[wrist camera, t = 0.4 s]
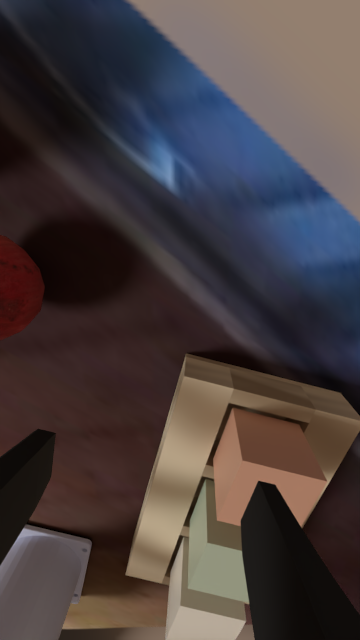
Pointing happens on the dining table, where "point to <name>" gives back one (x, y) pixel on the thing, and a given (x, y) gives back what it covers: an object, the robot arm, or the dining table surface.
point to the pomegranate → (18, 288)
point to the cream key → (199, 608)
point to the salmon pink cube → (264, 465)
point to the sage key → (215, 551)
